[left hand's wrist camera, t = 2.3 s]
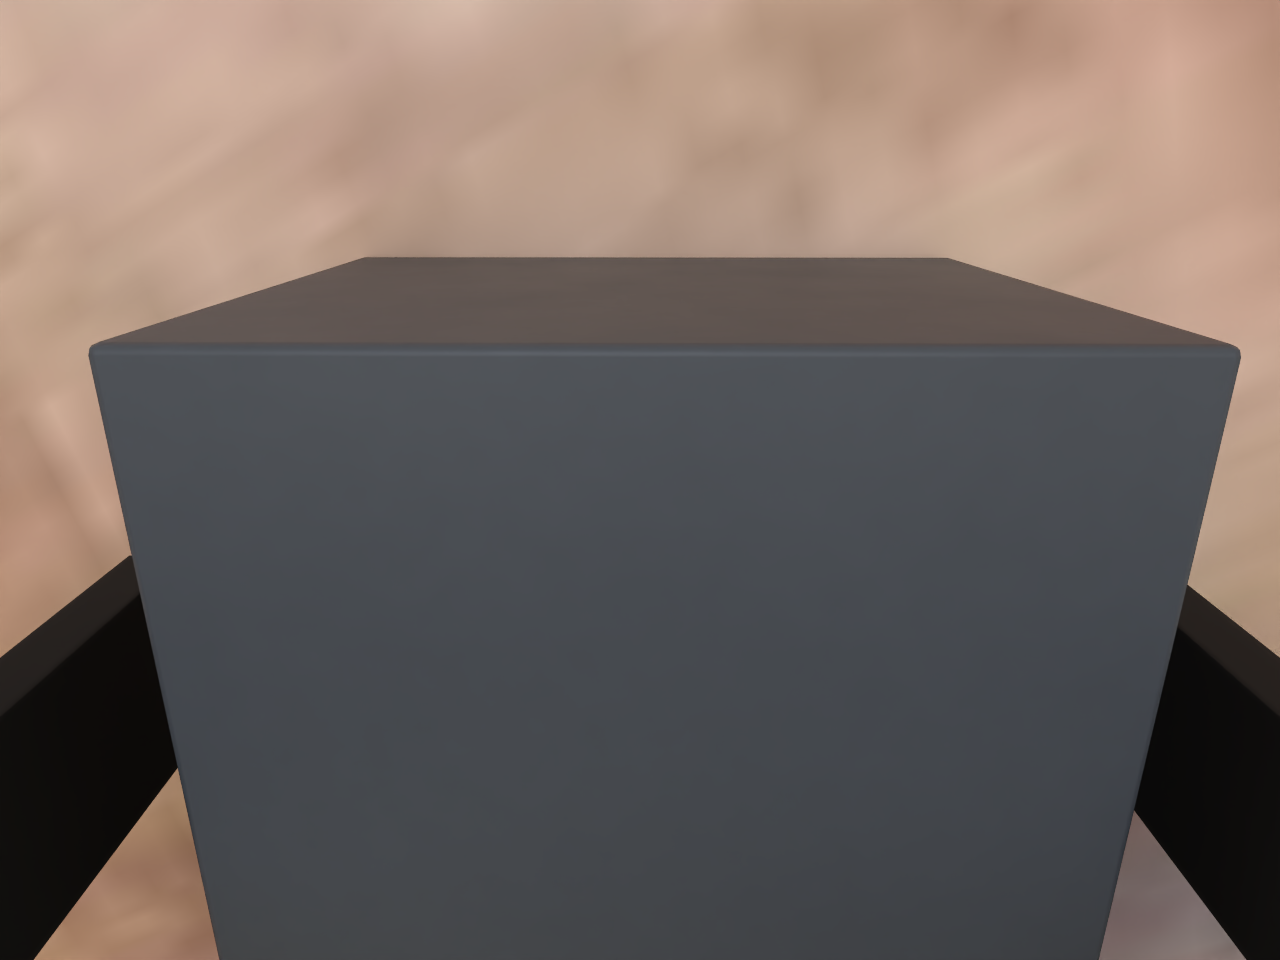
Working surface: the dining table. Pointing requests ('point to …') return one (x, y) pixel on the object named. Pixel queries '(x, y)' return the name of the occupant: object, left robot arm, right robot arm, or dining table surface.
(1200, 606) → the left robot arm
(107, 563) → the dining table surface
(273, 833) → the thick board
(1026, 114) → the dining table surface
